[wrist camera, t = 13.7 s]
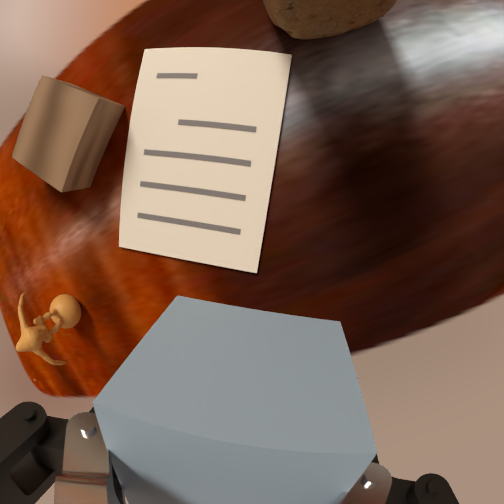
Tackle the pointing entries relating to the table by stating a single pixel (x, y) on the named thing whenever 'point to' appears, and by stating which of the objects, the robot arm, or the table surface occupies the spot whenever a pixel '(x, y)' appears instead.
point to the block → (324, 15)
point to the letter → (203, 154)
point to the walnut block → (65, 134)
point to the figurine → (62, 313)
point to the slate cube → (236, 410)
